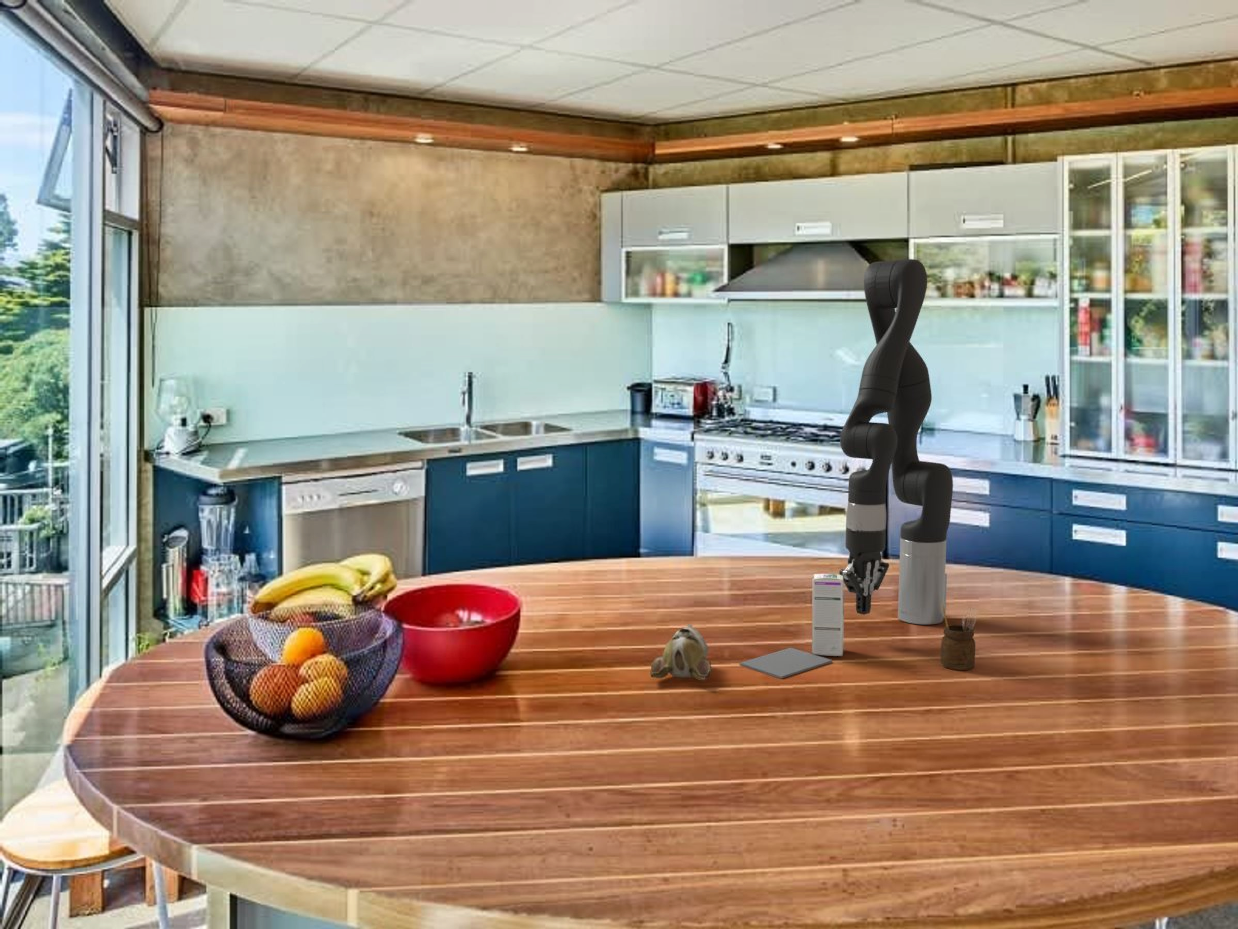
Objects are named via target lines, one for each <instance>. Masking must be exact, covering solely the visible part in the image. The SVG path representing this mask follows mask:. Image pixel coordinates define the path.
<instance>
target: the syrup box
mask: <svg viewBox="0 0 1238 929" xmlns="http://www.w3.org/2000/svg"><path fill="white" fill-rule="evenodd" d="M844 591H845V590H844V581H843V575H840V574H839V573H838V574H837V573H814V574H813V577H812V602H811V603H812V604H811V606H812V610H811V612H812V614H811V615H812V617H811V618H812V619H811V621H812V622H811V630H812V631H811V632H812V633H811V634H812V637H811V647H812V648H811V654H813V655H817V656H830V657H831V656H833V657H837V656H838V657H843V655H844V654H843V653H844V631H845V630H844V629H845V628H844V625H845V624H844V622H845V620H844V619H845V618H844V617H845V605H844V604H845V602H844V601H845V598H844V595H845V594H844Z"/></svg>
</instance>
